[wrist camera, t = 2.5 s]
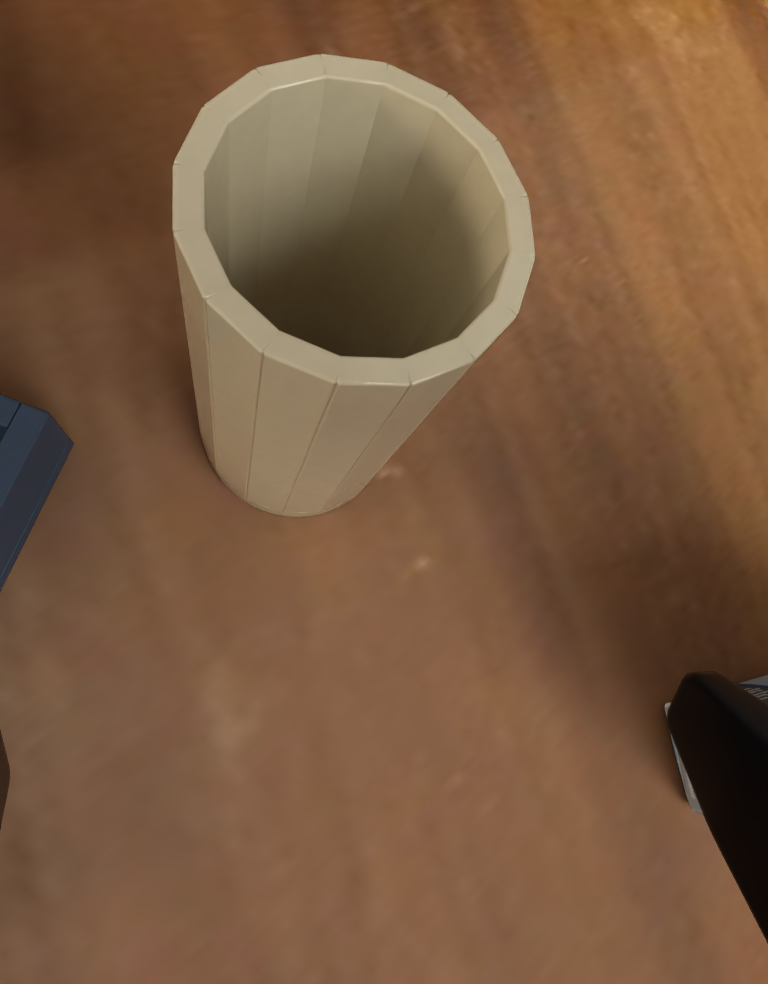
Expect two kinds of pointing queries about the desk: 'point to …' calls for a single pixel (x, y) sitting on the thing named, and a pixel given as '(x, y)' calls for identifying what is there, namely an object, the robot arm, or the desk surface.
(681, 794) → the desk surface
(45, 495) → the tray
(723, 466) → the desk surface
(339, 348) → the pencil cup
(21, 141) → the desk surface
